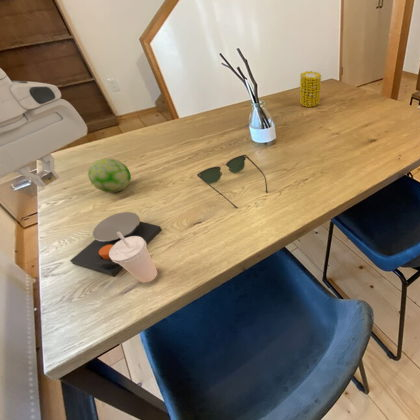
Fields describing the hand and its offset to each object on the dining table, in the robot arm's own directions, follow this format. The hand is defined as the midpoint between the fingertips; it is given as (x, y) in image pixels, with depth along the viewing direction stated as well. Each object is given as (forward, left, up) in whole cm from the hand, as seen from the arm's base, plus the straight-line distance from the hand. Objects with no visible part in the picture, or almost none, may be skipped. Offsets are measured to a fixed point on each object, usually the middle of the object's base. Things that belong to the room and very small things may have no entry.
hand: (48, 181), depth 48 cm
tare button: (0, 0, -20) cm, 20 cm away
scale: (+4, +3, -23) cm, 24 cm away
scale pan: (+7, +5, -20) cm, 22 cm away
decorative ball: (+22, +22, -23) cm, 39 cm away
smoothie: (-1, -10, -23) cm, 25 cm away
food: (+101, -13, -23) cm, 104 cm away
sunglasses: (+33, -13, -23) cm, 42 cm away
